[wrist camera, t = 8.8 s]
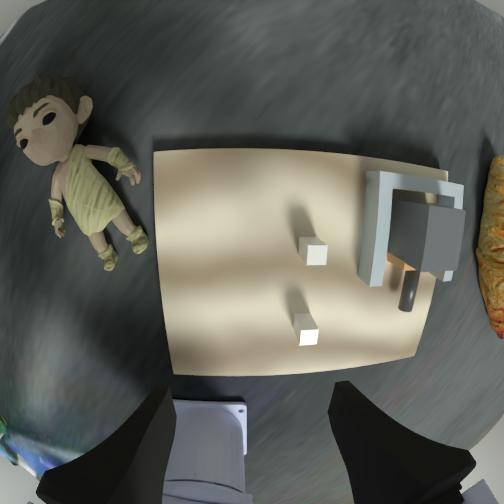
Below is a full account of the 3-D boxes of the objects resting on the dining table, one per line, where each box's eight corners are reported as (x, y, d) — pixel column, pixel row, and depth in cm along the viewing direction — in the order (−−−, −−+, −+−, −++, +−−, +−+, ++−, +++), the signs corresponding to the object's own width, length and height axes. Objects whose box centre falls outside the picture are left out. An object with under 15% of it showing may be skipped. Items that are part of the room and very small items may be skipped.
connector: (412, 299, 20) (443, 323, 15) (377, 302, 20) (406, 330, 15) (427, 202, 18) (466, 210, 13) (391, 198, 17) (428, 205, 13)
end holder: (437, 272, 19) (451, 280, 17) (357, 276, 19) (369, 286, 17) (447, 183, 17) (463, 185, 15) (366, 171, 17) (380, 170, 15)
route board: (409, 350, 22) (414, 355, 21) (175, 366, 21) (173, 373, 20) (440, 171, 18) (448, 171, 17) (158, 153, 17) (153, 151, 16)
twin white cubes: (308, 326, 20) (316, 344, 17) (292, 327, 20) (299, 345, 17) (316, 236, 18) (327, 245, 16) (299, 236, 18) (307, 245, 16)
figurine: (77, 303, 15) (-23, 124, 9) (104, 260, 21) (25, 118, 15) (167, 252, 15) (54, 39, 8) (179, 216, 21) (94, 58, 14)
